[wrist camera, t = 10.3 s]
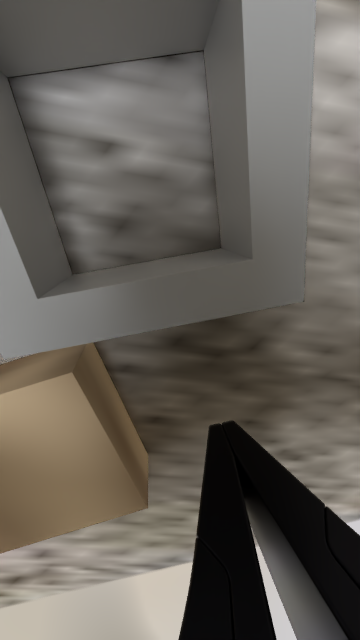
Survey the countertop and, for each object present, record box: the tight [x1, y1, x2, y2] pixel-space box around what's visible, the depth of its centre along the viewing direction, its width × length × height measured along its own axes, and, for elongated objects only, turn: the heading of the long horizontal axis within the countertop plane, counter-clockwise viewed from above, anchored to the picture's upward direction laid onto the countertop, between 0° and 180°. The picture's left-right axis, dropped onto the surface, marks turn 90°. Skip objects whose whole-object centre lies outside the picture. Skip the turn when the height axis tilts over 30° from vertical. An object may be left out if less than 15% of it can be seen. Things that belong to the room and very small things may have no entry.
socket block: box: [0, 0, 316, 359], centre depth 5 cm, size 7×7×2 cm
